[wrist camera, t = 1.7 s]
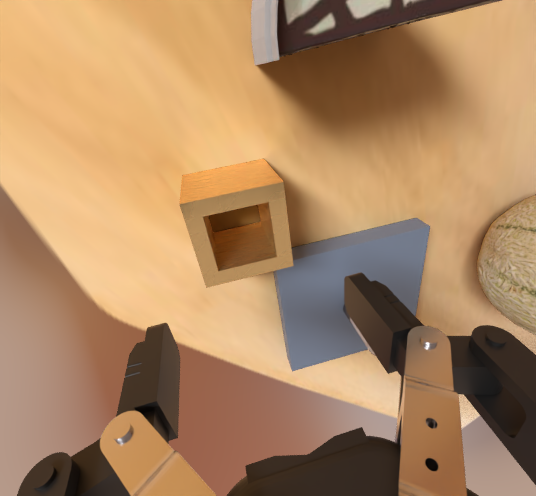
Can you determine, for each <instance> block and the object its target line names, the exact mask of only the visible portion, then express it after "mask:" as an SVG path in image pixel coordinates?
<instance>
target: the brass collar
mask: <svg viewBox="0 0 536 496" xmlns="http://www.w3.org/2000/svg"><path fill="white" fill-rule="evenodd" d="M253 205H258V210H259V215H260V221H261V222H257V223H253V224H249V225H244V226H240V227H235V228H231V229H227V230H222V231H218V232H214V233H213V230H212V226H211V223H210V219H209V215H213V214H217V213H222V212H226V211H231V210H235V209H240V208H244V207H249V206H253ZM180 207H181V210H182V213H183V217H184V220H185V223H186V226H187V229H188V232H189V235H190V238H191V241H192V244H193V247H194V251H195V254H196V257H197V260H198V263H199V266H200V269H201V272H202V275H203V278H204V282H205V285H206V288H207V287H211V286H215V285H219V284H223V283H227V282H231V281H235V280H239V279H243V278H247V277H251V276H255V275H259V274H263V273H267V272H271V271H275V270H279V269H284V268H288V267H292V266H294V265H293V257H292V249H291V240H290V232H289V223H288V215H287V207H286V198H285V190H284V182H283V180H282V179H281V178H280V177H279V176H278V175H277V174H276V172H275V171H274V170H273V169H272V168H271V167H270V165H269V164H268V163H267V162H266V161H265V160H264V159H260V160H255V161H250V162H246V163H241V164H236V165H231V166H226V167H221V168H216V169H211V170H206V171H202V172H197V173H192V174H187V175H182V184H181V194H180Z"/></svg>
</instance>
